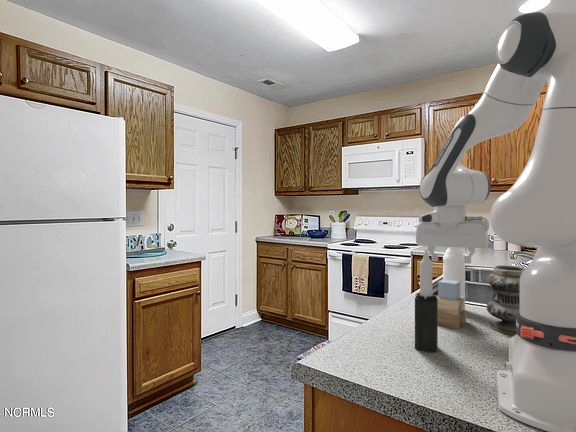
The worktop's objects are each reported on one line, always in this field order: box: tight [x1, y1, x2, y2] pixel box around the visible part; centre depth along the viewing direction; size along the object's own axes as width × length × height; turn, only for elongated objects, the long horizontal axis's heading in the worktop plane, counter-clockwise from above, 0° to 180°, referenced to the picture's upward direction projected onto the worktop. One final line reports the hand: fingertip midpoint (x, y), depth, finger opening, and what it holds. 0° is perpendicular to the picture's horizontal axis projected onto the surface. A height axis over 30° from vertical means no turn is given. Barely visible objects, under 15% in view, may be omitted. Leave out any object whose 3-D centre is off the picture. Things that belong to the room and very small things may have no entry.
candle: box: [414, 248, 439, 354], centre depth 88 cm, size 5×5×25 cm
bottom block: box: [438, 309, 467, 329], centre depth 107 cm, size 8×8×4 cm
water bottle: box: [442, 247, 466, 310], centre depth 120 cm, size 7×7×25 cm
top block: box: [436, 295, 464, 315], centre depth 107 cm, size 7×7×4 cm
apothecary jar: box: [485, 264, 526, 336], centre depth 100 cm, size 12×12×18 cm
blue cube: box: [437, 278, 460, 301], centre depth 107 cm, size 5×5×5 cm
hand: (450, 262), depth 106 cm, fingers open, 8 cm apart
